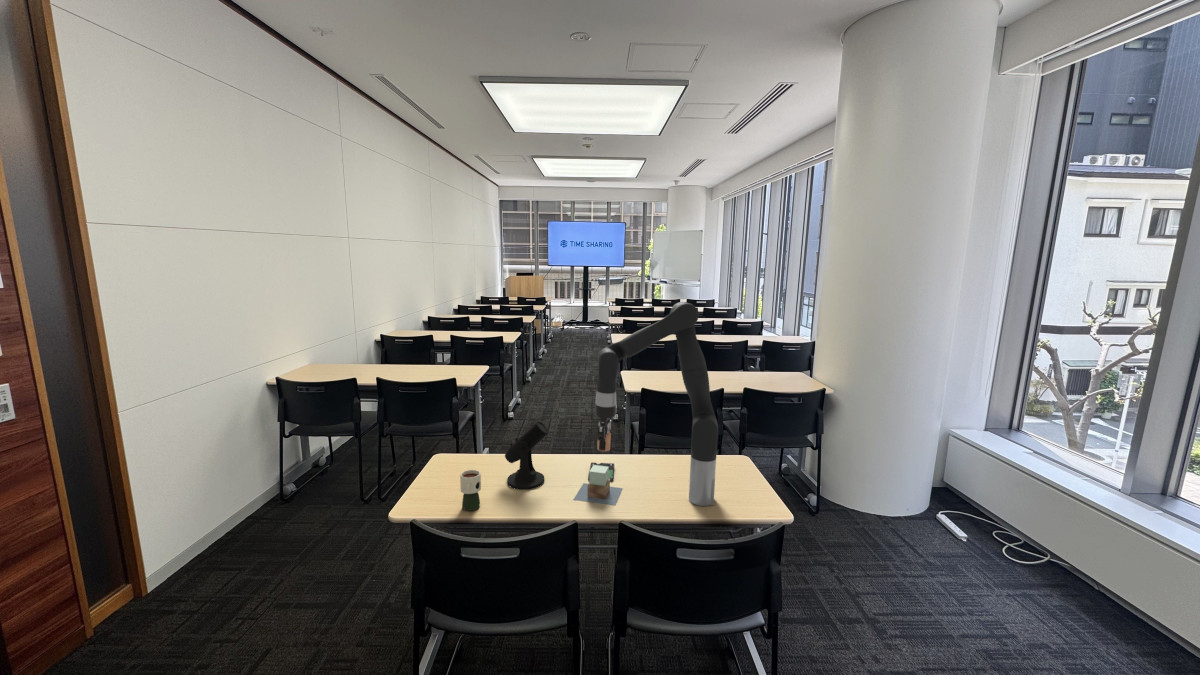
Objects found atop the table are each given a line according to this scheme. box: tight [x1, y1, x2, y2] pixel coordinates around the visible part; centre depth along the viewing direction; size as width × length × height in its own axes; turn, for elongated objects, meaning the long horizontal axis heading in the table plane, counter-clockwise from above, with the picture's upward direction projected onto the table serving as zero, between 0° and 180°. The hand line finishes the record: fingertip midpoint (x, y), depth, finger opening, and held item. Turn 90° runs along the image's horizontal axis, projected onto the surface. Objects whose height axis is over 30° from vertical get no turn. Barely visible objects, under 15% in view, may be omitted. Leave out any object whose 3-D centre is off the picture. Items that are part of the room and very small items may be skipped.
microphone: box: [504, 421, 549, 491], centre depth 194 cm, size 15×17×25 cm
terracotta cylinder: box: [596, 431, 612, 452], centre depth 179 cm, size 5×5×6 cm
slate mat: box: [573, 482, 624, 507], centre depth 185 cm, size 16×14×1 cm
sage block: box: [588, 465, 609, 486], centre depth 183 cm, size 6×6×5 cm
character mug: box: [459, 469, 482, 511], centre depth 173 cm, size 11×7×13 cm, turn 4°
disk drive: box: [587, 462, 615, 482], centre depth 203 cm, size 10×3×15 cm
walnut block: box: [587, 478, 611, 499], centre depth 184 cm, size 7×7×5 cm
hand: (603, 447), depth 180 cm, fingers closed on terracotta cylinder, 4 cm apart
